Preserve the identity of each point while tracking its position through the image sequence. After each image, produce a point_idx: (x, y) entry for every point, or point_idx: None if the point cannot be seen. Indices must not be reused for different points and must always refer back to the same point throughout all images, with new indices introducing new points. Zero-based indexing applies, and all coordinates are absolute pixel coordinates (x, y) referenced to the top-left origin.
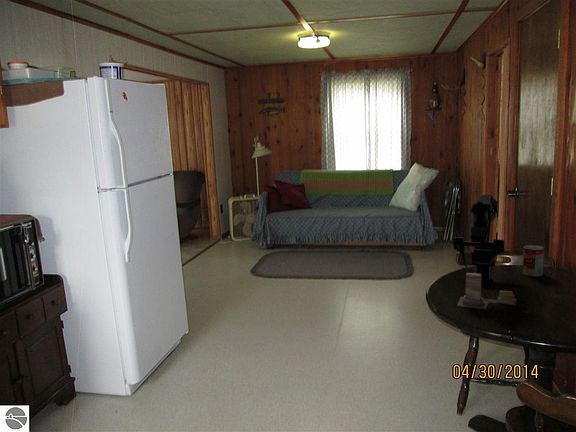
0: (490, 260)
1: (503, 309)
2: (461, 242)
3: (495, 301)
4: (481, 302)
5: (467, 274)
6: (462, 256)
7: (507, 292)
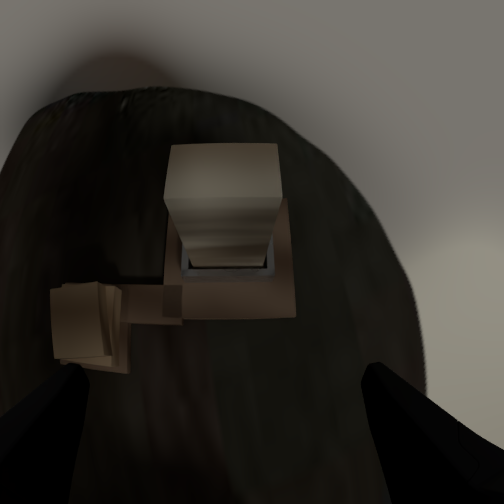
0: (47, 383)
1: (110, 247)
2: None
3: (133, 303)
4: None
5: (268, 156)
6: (423, 400)
7: (71, 333)
